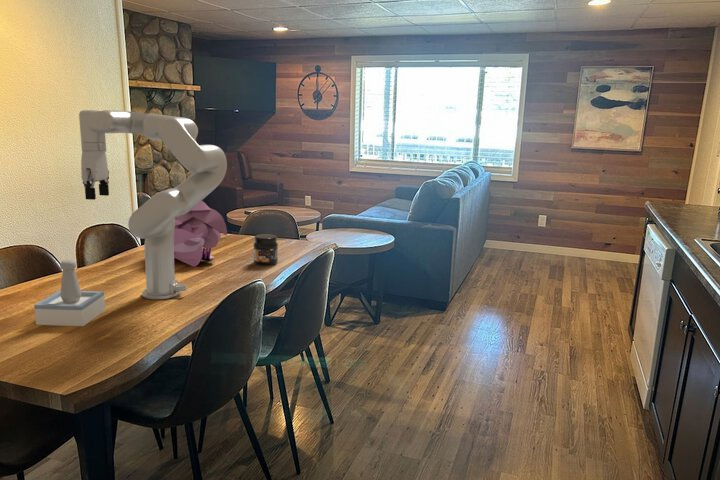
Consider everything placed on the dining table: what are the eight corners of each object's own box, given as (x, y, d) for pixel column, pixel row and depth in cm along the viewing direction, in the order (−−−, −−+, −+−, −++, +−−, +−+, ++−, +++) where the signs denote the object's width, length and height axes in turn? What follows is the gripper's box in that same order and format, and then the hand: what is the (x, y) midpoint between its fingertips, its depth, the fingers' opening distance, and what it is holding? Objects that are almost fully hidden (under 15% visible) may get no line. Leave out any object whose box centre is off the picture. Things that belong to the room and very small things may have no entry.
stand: (105, 309, 173) (103, 291, 171) (83, 326, 159) (81, 306, 158) (61, 308, 173) (60, 290, 171) (36, 324, 159) (34, 305, 157)
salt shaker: (67, 298, 168) (63, 258, 165) (85, 298, 168) (82, 258, 165) (57, 304, 162) (53, 263, 159) (76, 304, 162) (72, 263, 159)
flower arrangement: (233, 268, 242) (243, 206, 241) (209, 272, 219) (220, 204, 217) (163, 254, 248) (172, 194, 247) (132, 256, 225) (143, 190, 223)
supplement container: (248, 264, 231) (248, 237, 228) (260, 258, 241) (260, 232, 238) (270, 267, 228) (270, 239, 225) (282, 261, 238) (282, 235, 235)
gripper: (95, 145, 190) (98, 193, 194) (69, 148, 173) (73, 200, 177) (116, 146, 190) (119, 194, 194) (92, 149, 173) (96, 201, 177)
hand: (97, 197), depth 186 cm, fingers open, 9 cm apart
